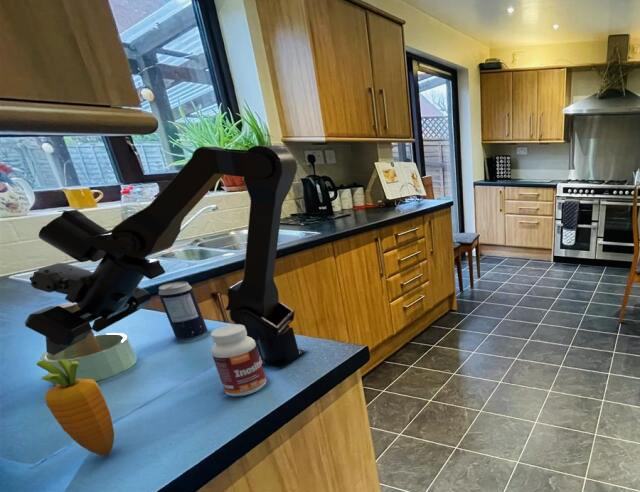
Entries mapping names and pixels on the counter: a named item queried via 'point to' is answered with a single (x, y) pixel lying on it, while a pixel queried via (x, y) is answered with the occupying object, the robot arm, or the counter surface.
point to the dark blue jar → (182, 310)
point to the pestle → (85, 345)
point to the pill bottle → (237, 360)
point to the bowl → (99, 358)
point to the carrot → (79, 407)
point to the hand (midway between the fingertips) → (74, 341)
